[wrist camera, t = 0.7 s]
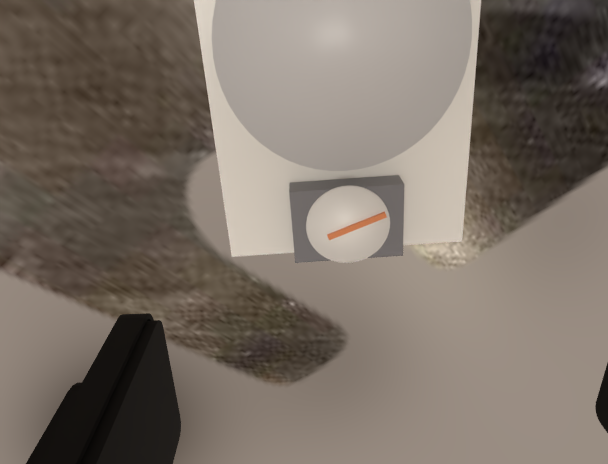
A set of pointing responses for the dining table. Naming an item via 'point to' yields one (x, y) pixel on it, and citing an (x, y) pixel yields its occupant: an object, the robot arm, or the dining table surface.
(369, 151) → the dial scale
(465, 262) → the dining table surface
